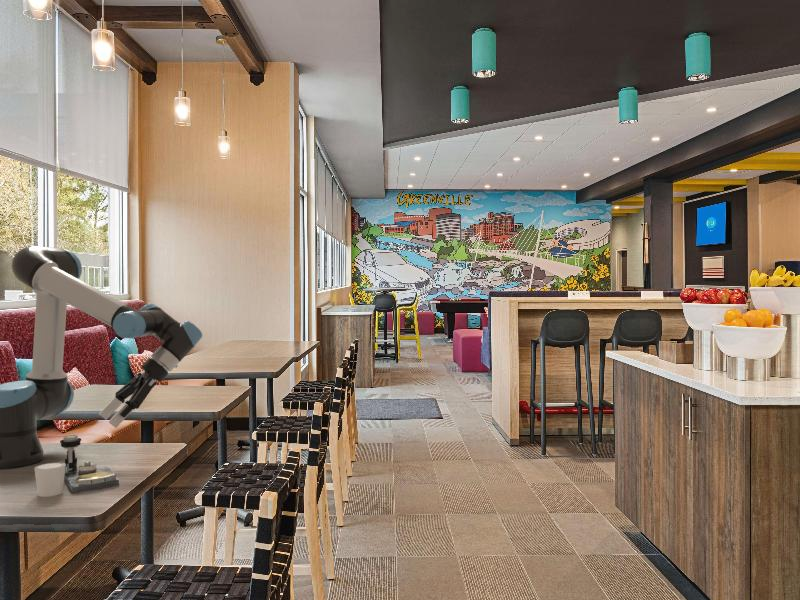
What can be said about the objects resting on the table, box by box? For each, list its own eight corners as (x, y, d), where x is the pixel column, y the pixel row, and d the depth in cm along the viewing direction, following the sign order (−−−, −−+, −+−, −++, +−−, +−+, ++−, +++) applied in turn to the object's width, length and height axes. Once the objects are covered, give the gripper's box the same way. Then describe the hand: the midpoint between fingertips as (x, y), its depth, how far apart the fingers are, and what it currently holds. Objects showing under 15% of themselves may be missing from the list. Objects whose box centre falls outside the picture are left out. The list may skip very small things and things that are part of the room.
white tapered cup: (58, 487, 166) (58, 460, 166) (70, 492, 162) (70, 465, 162) (30, 493, 161) (29, 466, 161) (41, 499, 157) (41, 471, 156)
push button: (80, 474, 177) (79, 438, 177) (58, 476, 175) (58, 440, 175) (82, 468, 183) (82, 433, 183) (61, 470, 181) (61, 435, 181)
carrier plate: (63, 478, 173) (63, 463, 173) (107, 471, 180) (107, 457, 180) (72, 493, 161) (72, 477, 161) (119, 485, 167) (118, 469, 167)
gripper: (181, 377, 184) (126, 436, 176) (157, 368, 204) (108, 421, 196) (162, 360, 181) (105, 420, 172) (140, 353, 201) (88, 406, 193)
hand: (106, 421), depth 184 cm, fingers open, 13 cm apart
